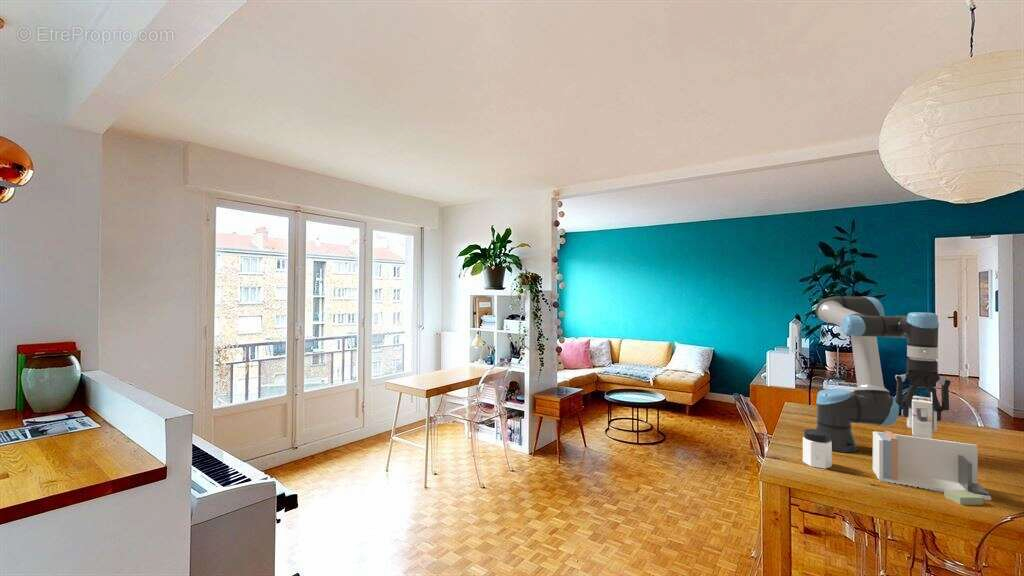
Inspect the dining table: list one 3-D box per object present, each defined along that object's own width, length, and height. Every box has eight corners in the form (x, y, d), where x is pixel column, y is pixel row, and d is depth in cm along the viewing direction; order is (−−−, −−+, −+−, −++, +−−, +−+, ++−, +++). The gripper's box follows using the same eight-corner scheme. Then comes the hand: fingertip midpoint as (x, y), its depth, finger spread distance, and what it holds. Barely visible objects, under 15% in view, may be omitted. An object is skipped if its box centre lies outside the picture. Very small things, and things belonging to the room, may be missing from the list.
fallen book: (960, 505, 133) (960, 497, 133) (944, 497, 138) (944, 489, 138) (983, 505, 133) (983, 497, 133) (966, 498, 138) (966, 490, 138)
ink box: (910, 429, 150) (911, 386, 150) (930, 432, 147) (931, 388, 147) (911, 435, 143) (912, 390, 143) (932, 439, 140) (933, 393, 140)
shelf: (879, 480, 149) (879, 437, 149) (872, 469, 159) (872, 428, 159) (991, 500, 136) (991, 452, 136) (976, 486, 145) (976, 441, 145)
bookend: (967, 491, 139) (967, 463, 139) (958, 481, 146) (958, 455, 146) (989, 495, 136) (989, 466, 136) (979, 485, 143) (979, 458, 143)
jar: (803, 465, 162) (803, 433, 162) (801, 458, 169) (801, 427, 169) (833, 470, 158) (833, 437, 158) (830, 462, 165) (830, 431, 165)
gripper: (888, 358, 147) (887, 426, 147) (964, 363, 137) (964, 437, 137) (883, 355, 153) (883, 420, 153) (956, 359, 143) (956, 430, 143)
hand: (921, 428), depth 145 cm, fingers closed on ink box, 5 cm apart
